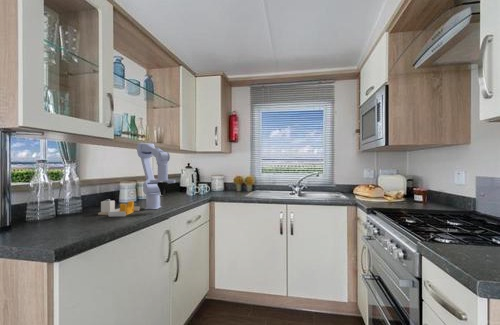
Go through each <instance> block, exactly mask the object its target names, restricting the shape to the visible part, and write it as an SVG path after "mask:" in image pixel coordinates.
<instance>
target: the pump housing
mask: <svg viewBox="0 0 500 325" xmlns="http://www.w3.org/2000/svg"><path fill="white" fill-rule="evenodd" d="M115 206H116V201H115V200H111V199H110V198H107V199H105V200H103V201H100V212H97V216H102V215H103V216H104V215H106V216H107V215H108V212H110V211H113V210H116V207H115Z"/></svg>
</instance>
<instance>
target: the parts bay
mask: <svg viewBox="0 0 500 325" xmlns="http://www.w3.org/2000/svg"><path fill="white" fill-rule="evenodd" d="M140 208H141V207H140V205H139V206H137V205H136V206H134V212H139V211H140ZM126 216H127V215H126V211H120V207H119V208H115V210H113V211H110V212H108V217H111V218H112V217H126Z"/></svg>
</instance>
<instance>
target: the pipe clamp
mask: <svg viewBox="0 0 500 325" xmlns="http://www.w3.org/2000/svg"><path fill="white" fill-rule="evenodd" d="M134 207H135V201H134V200H129V201H127V203H120V204H119V208H120V211H126V216H128V215H129V214H132V213H134V212H135V211H134Z"/></svg>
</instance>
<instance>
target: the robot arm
mask: <svg viewBox="0 0 500 325" xmlns="http://www.w3.org/2000/svg"><path fill="white" fill-rule="evenodd" d="M160 148H161V147H155V144H154V143H152V142H151V143H150V142H149V143H147V142H138V143H137V146H136V153H137V156H138V157H139V158H140V159H141V164H142V169H143V172H144V177H145V181H144V182H143V184H142V191H143V194H144V195H145V196H146V197H145V198H146V199H145V201H146V203H145V204H146V207H145V208H143V210H158V209H160V208H162V205H161V196H165V195H166V190H167V187H168V185H169V184H172V183H173V184H175V183H176V179H169V177H168V176H169V175H168V174H169V173H168V172H169V164H168V163H169V161H170V159H171V158H170V157H171V155H170V153H169V152H168V151H165V152H164V150H162V149H160ZM152 157H154V158H155V161H156V166H157V179H156V178H155V176H154V172H153V168H152V164H151V161H150V160H151V158H152Z"/></svg>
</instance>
